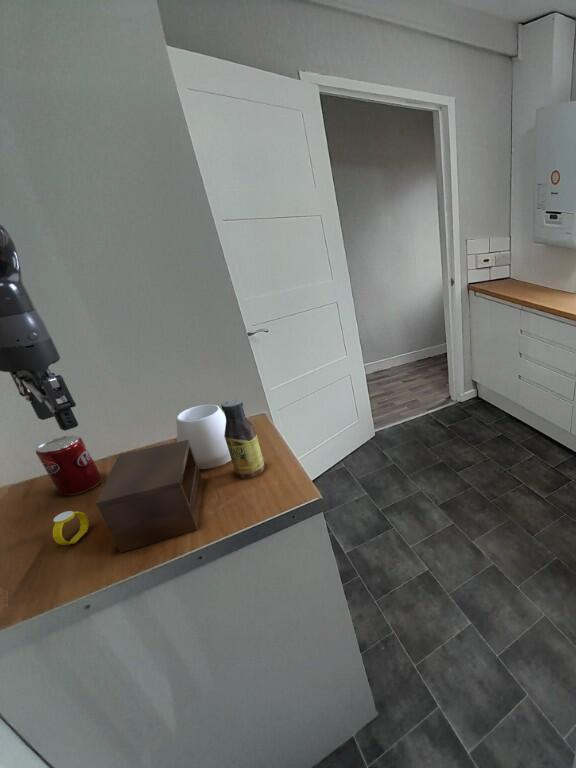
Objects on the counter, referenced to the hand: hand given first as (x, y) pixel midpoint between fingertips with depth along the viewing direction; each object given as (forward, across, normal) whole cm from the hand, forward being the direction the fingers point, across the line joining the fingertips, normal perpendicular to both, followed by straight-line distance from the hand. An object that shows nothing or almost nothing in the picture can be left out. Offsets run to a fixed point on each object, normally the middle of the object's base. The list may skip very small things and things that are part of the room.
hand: (58, 422), depth 75 cm
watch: (+24, 0, -5) cm, 24 cm away
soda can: (+24, -20, +4) cm, 31 cm away
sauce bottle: (+24, +10, +25) cm, 36 cm away
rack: (+24, +8, +7) cm, 26 cm away
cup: (+24, -4, +24) cm, 34 cm away
